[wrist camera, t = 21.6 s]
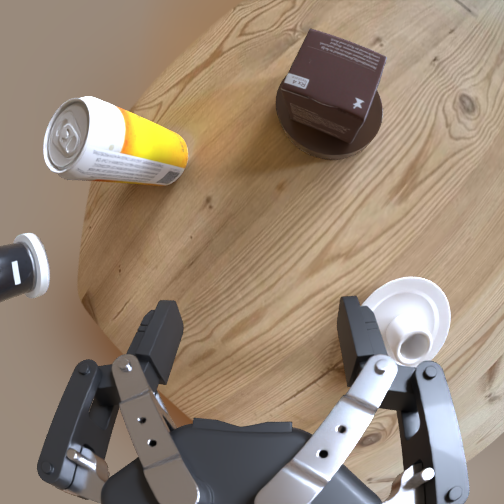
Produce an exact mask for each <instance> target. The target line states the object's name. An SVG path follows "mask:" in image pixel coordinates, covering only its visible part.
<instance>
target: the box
mask: <svg viewBox="0 0 504 504" xmlns="http://www.w3.org/2000/svg"><path fill="white" fill-rule="evenodd" d="M386 59H387V57H386V56H383V55H381V54H379V53H377V52H374V51H372V50H370V49H368V48H365V47H362V46H360V45H357V44H355V43H352V42H350V41H347V40H344V39H341V38H339V37H336V36H333V35H330V34H327V33H323V32H320V31H317V30H314V29H310V30H309V32H308V34H307V36H306V38H305V39H304V42H303V44H302V46H301V48H300V50H299V52H298V54H297V56H296V58H295V60H294V62H293V64H292V66H291V68H290V70H289V72H288V74H287V76H286V78H285V80H284V82H283V84H282V86H281V91H282V93H283V97H284V100H285V103H286V106H287V109H288V112H289V115H290V119H291V120H293V121H296V122H299V123H302V124H304V125H307V126H309V127H312V128H314V129H317V130H319V131H321V132H324V133H326V134H329V135H331V136H333V137H336V138H338V139H340V140H343V141H345V142H347V143H349V144H351V143H352V142H353V140H354V139H355V137H356V135H357V133H358V131H359V130H360V128H361V127H362V126H363V124H364V122H365V120H366V118H367V115H368V113H369V110H370V107H371V104H372V101H373V99H374V96H375V93H376V91H377V88H378V85H379V82H380V79H381V75H382V72H383V69H384V66H385V63H386Z"/></svg>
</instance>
